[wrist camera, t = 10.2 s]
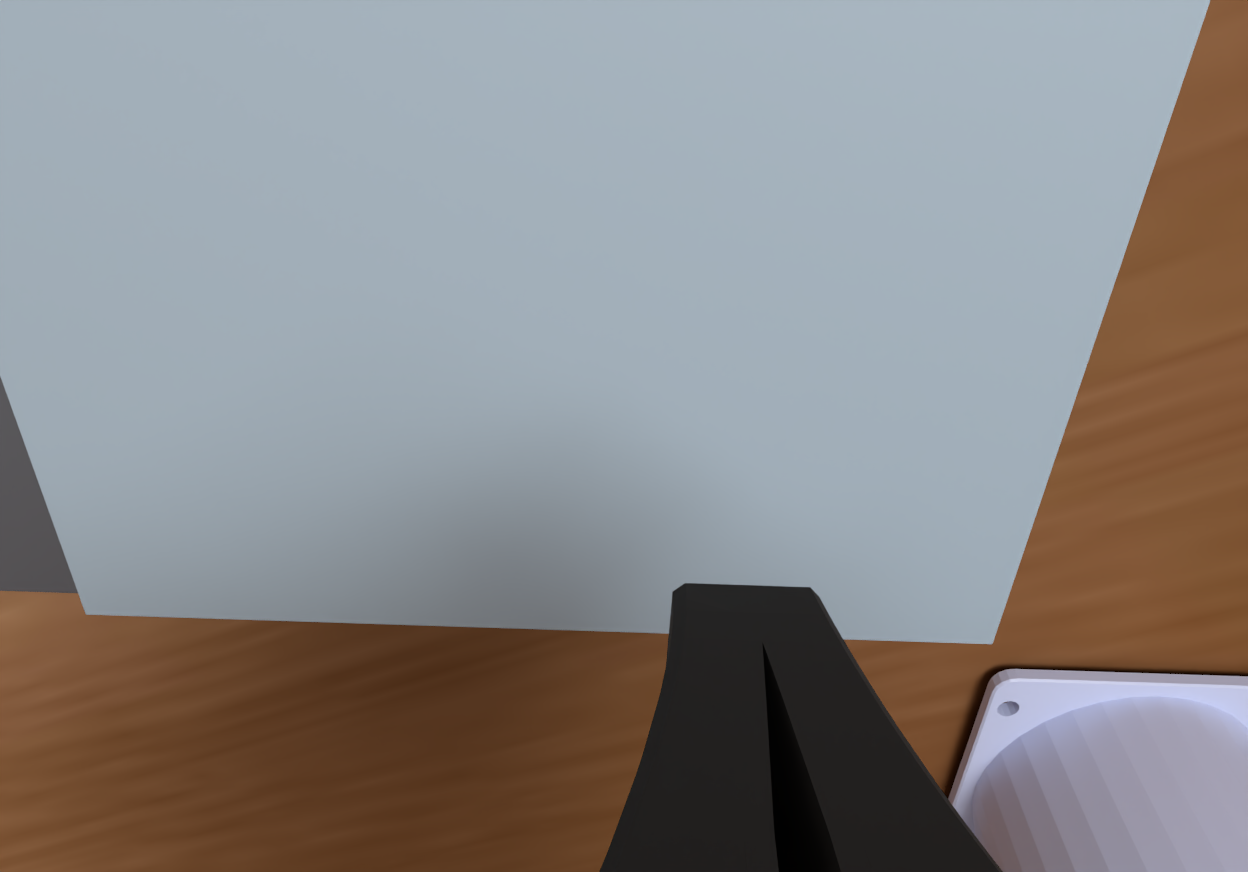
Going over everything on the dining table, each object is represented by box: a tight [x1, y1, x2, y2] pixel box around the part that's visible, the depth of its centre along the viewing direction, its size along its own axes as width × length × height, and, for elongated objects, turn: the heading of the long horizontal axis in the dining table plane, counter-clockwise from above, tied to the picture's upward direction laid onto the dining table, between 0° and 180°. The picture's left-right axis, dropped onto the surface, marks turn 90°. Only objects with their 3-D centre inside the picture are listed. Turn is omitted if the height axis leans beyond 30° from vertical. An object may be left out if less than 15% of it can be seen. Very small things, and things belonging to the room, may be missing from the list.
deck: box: [0, 0, 1210, 644], centre depth 17 cm, size 12×17×4 cm
